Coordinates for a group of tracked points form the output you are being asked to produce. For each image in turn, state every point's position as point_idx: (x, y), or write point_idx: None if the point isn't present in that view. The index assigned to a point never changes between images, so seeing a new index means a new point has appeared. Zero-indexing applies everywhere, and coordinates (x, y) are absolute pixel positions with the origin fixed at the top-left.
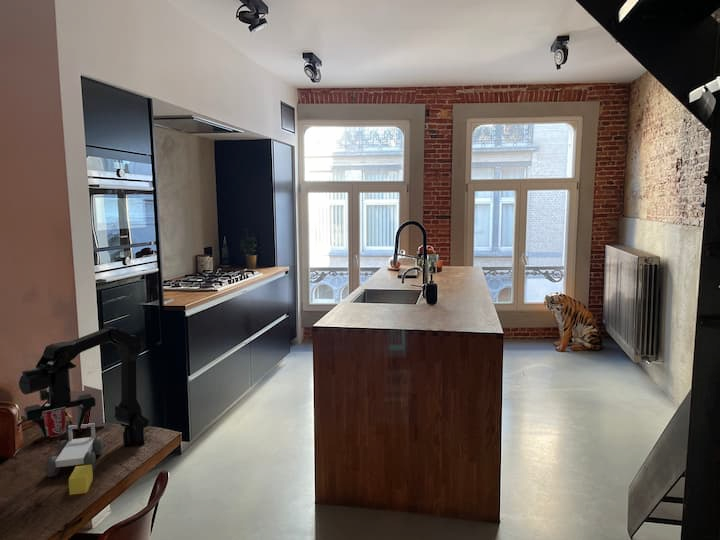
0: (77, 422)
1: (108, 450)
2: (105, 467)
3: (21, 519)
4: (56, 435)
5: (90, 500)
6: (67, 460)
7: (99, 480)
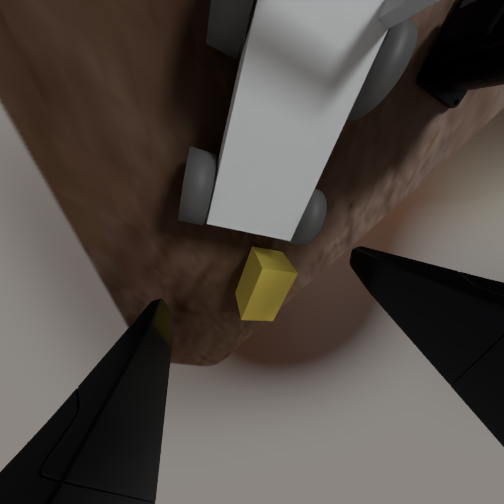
0: (389, 275)
1: None
2: None
3: None
4: None
5: None
6: (245, 230)
7: (291, 261)
